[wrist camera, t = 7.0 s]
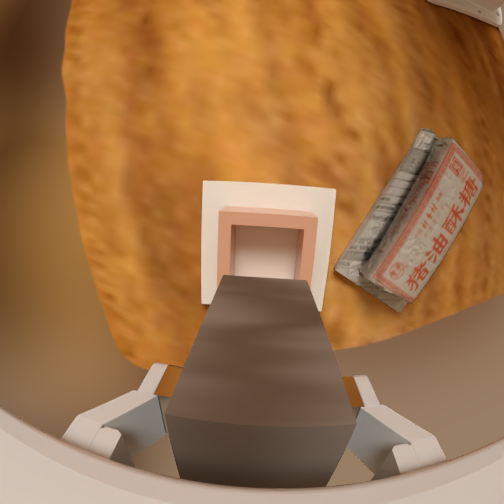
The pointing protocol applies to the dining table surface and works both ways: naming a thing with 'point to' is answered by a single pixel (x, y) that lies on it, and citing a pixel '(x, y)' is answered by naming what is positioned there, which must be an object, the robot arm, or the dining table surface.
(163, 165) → the dining table surface
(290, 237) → the square socket base
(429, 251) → the packaged product
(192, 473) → the peg
